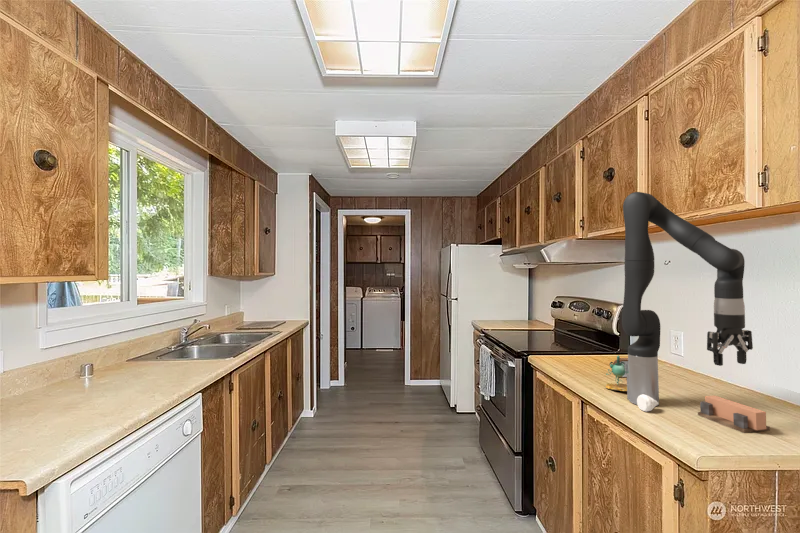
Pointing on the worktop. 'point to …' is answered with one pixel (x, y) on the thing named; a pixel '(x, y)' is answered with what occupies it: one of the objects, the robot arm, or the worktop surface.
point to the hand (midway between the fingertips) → (730, 364)
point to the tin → (624, 365)
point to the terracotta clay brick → (737, 411)
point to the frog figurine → (617, 375)
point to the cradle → (739, 419)
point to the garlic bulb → (646, 403)
